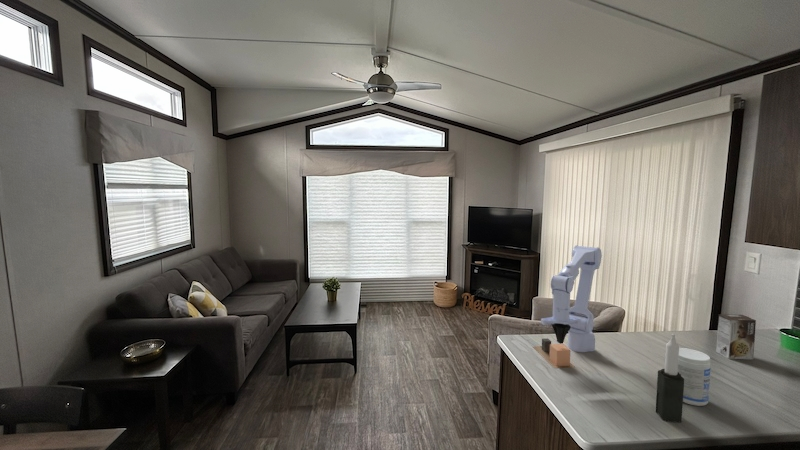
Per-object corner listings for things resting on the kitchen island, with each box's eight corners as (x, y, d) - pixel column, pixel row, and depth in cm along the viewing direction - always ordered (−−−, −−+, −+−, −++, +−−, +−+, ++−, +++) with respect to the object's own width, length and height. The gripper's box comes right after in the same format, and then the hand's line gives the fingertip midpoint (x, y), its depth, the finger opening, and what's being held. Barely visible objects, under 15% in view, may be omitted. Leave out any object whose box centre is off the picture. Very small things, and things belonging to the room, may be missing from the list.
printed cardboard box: (739, 352, 139) (742, 314, 138) (754, 360, 133) (757, 320, 132) (715, 351, 140) (717, 313, 139) (728, 359, 134) (731, 319, 133)
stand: (550, 349, 144) (551, 335, 143) (575, 371, 126) (575, 355, 125) (532, 350, 143) (532, 336, 143) (554, 372, 125) (555, 356, 125)
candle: (683, 423, 97) (689, 338, 95) (663, 420, 98) (668, 336, 96) (673, 412, 102) (678, 331, 100) (653, 410, 103) (658, 329, 101)
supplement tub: (712, 410, 102) (715, 363, 101) (672, 401, 107) (675, 356, 106) (702, 394, 111) (705, 350, 110) (666, 386, 115) (668, 344, 114)
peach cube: (562, 358, 132) (562, 344, 132) (569, 365, 127) (570, 350, 126) (549, 359, 132) (549, 344, 131) (556, 366, 127) (556, 350, 126)
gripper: (547, 311, 123) (546, 347, 124) (586, 310, 124) (584, 346, 125) (538, 305, 130) (537, 339, 131) (575, 304, 131) (573, 338, 132)
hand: (560, 342), depth 129 cm, fingers closed
